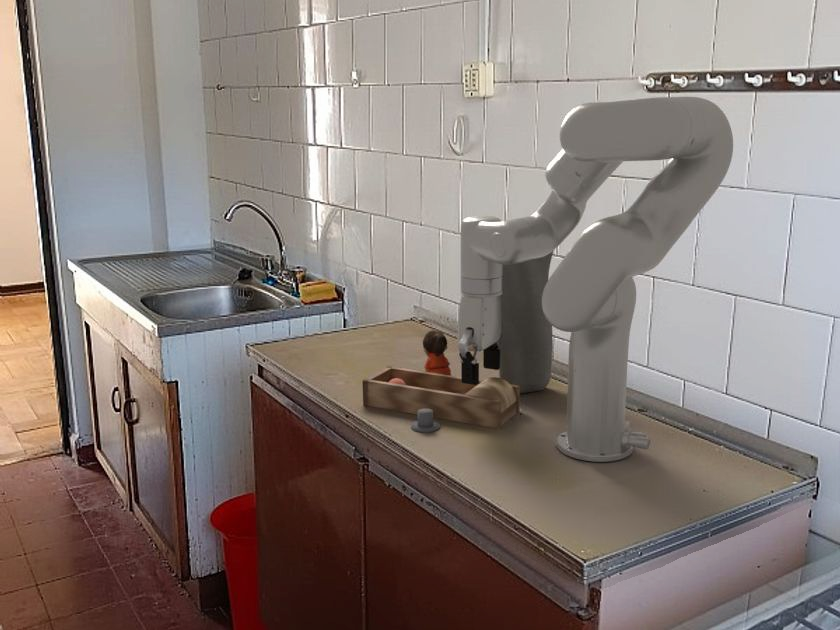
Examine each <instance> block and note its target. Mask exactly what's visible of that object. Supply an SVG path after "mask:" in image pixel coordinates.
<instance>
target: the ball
mask: <svg viewBox="0 0 840 630" xmlns="http://www.w3.org/2000/svg"><path fill="white" fill-rule="evenodd" d="M388 383H394V384H401V385H406V384H405V382H404V381H403V380H401V379H399V378H395V379H392V380H390V381H389V382H388Z"/></svg>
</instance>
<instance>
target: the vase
mask: <svg viewBox="0 0 840 630" xmlns="http://www.w3.org/2000/svg"><path fill="white" fill-rule="evenodd" d="M553 255H554V250H553V251H552V252H551V253H549V254H548V255H546V256H544V257H540V258H536V259H532V260H528V261H525V262H521V263H517V264H513V265H503V290H502V295H500V299H501V319H502V323H503V325H502V330H501V334H502V335H501V336H502V337H501V339H500V342H501V348H500V369H499V370H498V372H499V373H498V374H499V378H501V379H503V380H505V381H507V382H508V383H509V384H511V385H517V386H520V395H521V394H525V393H533V392H538V391H542V390H543V389H545V388H546V387H548V386H549V383H550V382H551V375H552V373H551V372H552V364H553V337H554V336H553V335H554V334H553V326H552V325H551V324H550V323H549V322H548V320H547V319H546V317H545V315H544V313H543V309H542V294H543V290H544V288H545V285H546V283H547V282H548V280H549V278H550V276H549V274H550V269H551V268H550V267H551V263H552V259H553ZM498 349H499V348H498Z"/></svg>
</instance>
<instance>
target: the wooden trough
mask: <svg viewBox="0 0 840 630" xmlns="http://www.w3.org/2000/svg"><path fill="white" fill-rule="evenodd" d="M395 378H399V379H401V380H403V381H404V382H405V384H406V385H401V384H394V383H388V382H389V381H390V380H392V379H395ZM520 395H521V394H520V386H517V385H511V384H509V383H508V382H507V381H505V380H503V379H501V378H500V377H496V376H493V377H488V378H485V379H484V380H483V379H479V384H477V385H472V384H465V383H462V381H461V376H457V375H452V374H451V375H444V374H437V373H431V372H425V370H424V371H423V370H416V369H408V368H403V367H396V366H389V365H388V366H386V367H384V368H383V369H381V370H378V371H376V372H375V373H374V374H371V375H370V376H368V377H366V378H364V379H362V404H363V406H368V407H373V408H379V409H385V410H389V411H390V410H391V411H395V412H402V413H408V414H411V415H412V414H414V415H418V414H417V411H418V410H420V409H431V410H433V418H437V419H442V420H447V421H452V422H460V423H464V424H471V425H476V426H481V427H488V428H492V429H501V427H502V426H503V425H504V424H505V423H506V422H507V421H508V420H509V419H511V418H512V417H513V416H515V414H517V413H519V412H520V397H521V396H520Z"/></svg>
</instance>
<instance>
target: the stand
mask: <svg viewBox="0 0 840 630" xmlns="http://www.w3.org/2000/svg"><path fill="white" fill-rule="evenodd" d="M416 415H417V420H415V421H413V422H412V423H411V424H410V428H411V430H412V431H414V432H419V433H432V432H436V431H439V429H440V428H441V425H440V423H439V422H438V421H436V420H434V417H433V410H431V409H420V410H418V411H417V414H416Z"/></svg>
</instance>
